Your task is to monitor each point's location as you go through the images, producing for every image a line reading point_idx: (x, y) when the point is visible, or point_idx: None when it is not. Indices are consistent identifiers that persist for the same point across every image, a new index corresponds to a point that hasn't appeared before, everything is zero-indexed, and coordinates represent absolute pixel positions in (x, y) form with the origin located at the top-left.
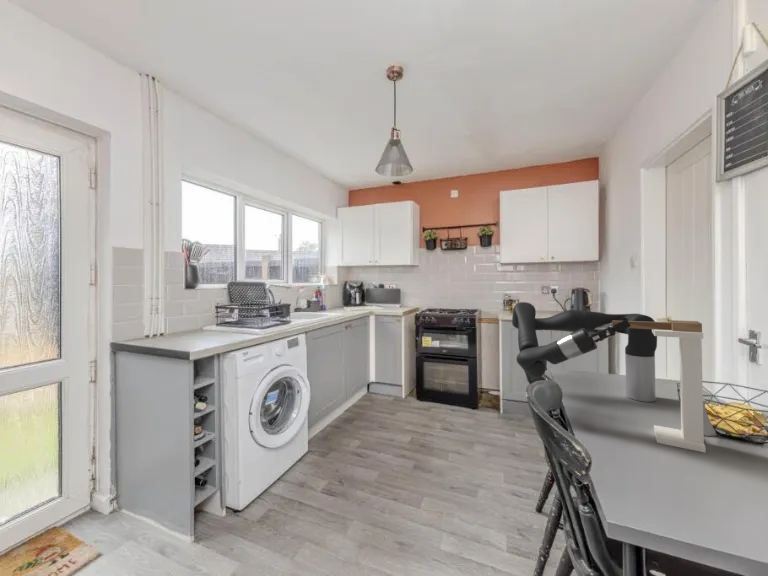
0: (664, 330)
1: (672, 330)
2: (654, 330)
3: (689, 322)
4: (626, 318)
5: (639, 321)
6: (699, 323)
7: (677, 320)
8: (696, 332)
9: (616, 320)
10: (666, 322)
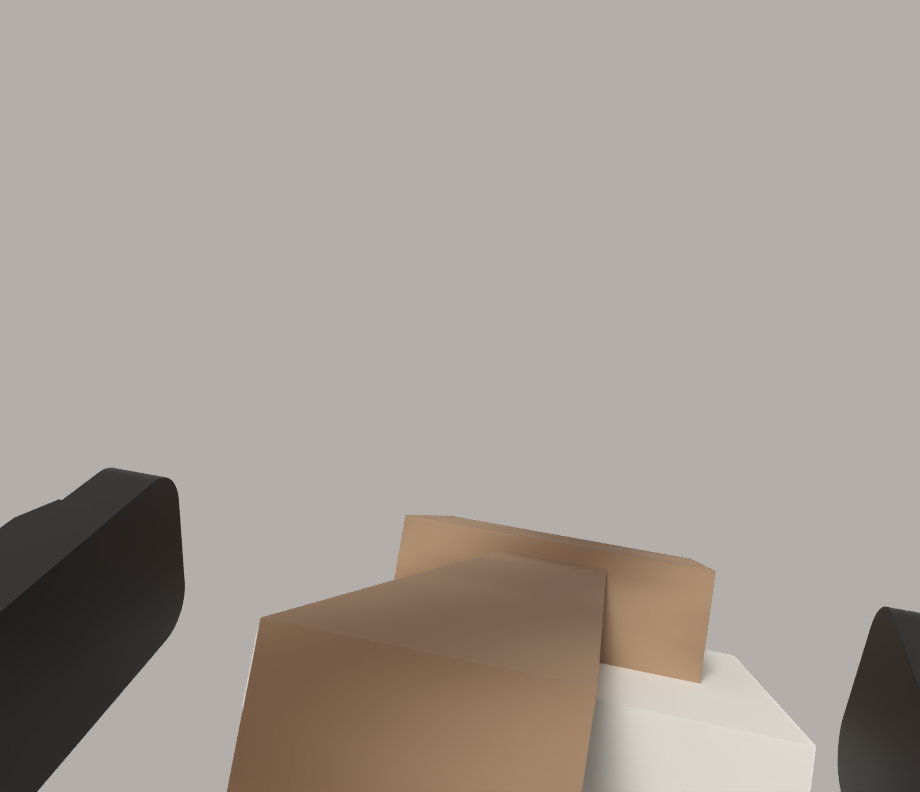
0: (684, 694)
1: (684, 674)
2: (766, 735)
3: (626, 549)
4: (174, 497)
5: (493, 577)
6: (690, 559)
7: (427, 516)
8: (716, 657)
9: (313, 603)
10: (539, 560)
